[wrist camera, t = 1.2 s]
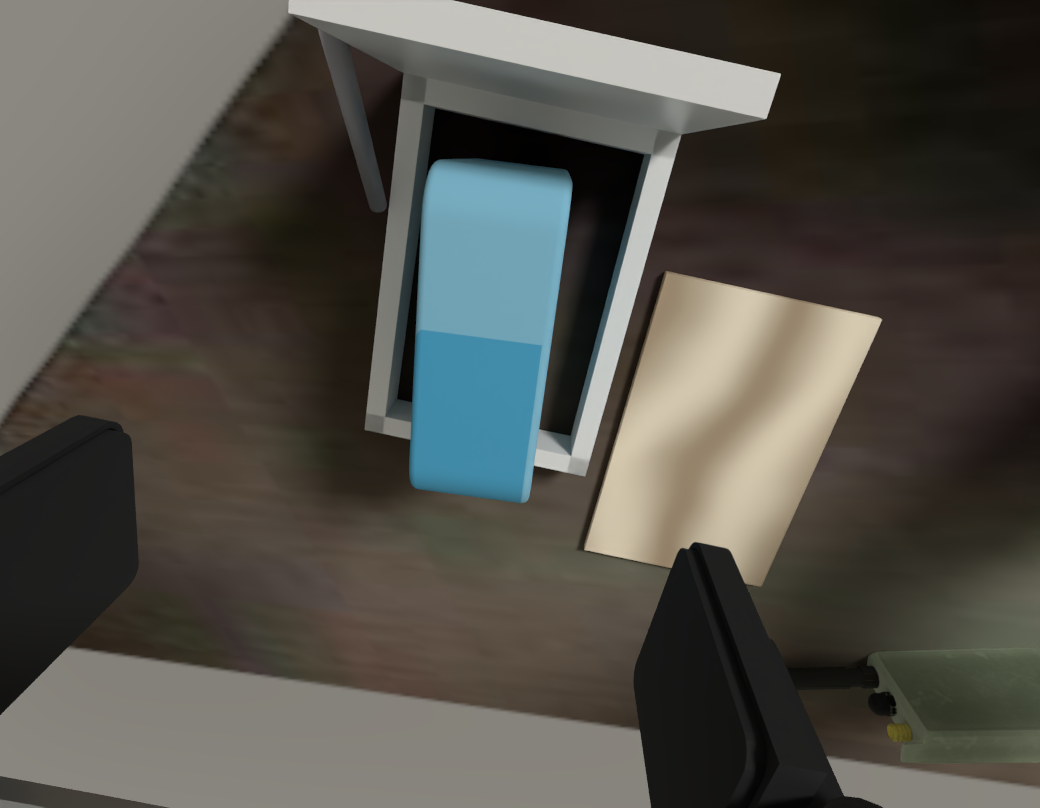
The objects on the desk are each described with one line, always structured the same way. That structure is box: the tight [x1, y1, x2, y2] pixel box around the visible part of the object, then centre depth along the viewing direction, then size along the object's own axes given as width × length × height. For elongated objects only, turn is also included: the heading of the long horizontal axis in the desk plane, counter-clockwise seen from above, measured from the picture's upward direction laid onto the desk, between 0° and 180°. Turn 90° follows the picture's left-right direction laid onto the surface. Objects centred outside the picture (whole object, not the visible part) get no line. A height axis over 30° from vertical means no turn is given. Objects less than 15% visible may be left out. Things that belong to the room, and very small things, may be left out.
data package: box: [409, 158, 572, 503], centre depth 25 cm, size 12×4×12 cm, turn 173°
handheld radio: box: [787, 647, 1040, 763], centre depth 35 cm, size 7×3×25 cm
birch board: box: [584, 271, 882, 587], centre depth 33 cm, size 11×17×1 cm, turn 168°
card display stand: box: [288, 0, 781, 476], centre depth 24 cm, size 13×18×14 cm
